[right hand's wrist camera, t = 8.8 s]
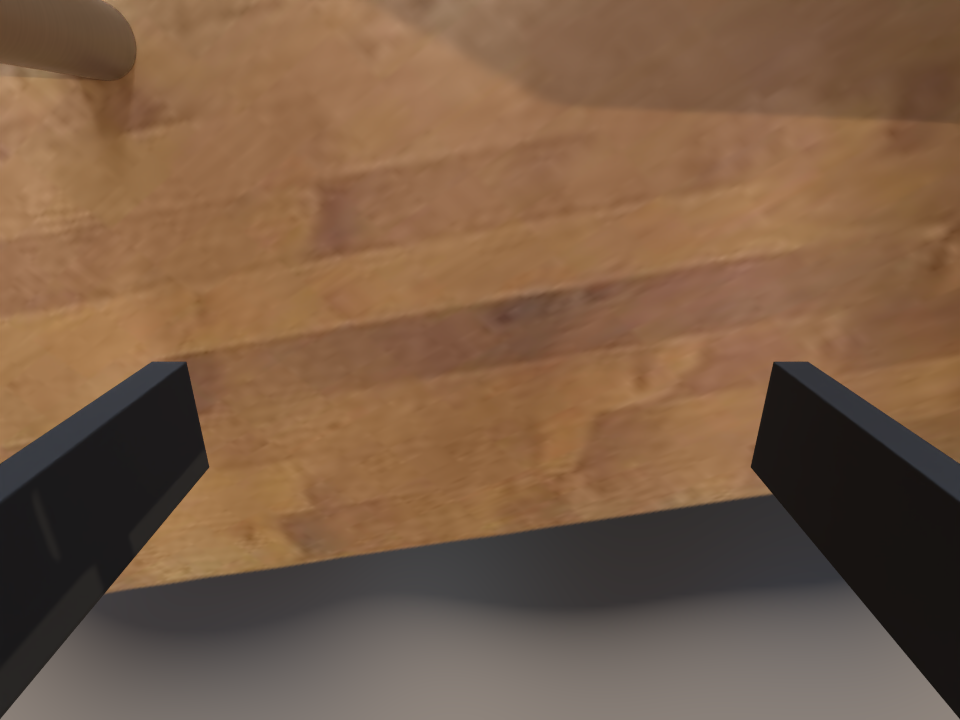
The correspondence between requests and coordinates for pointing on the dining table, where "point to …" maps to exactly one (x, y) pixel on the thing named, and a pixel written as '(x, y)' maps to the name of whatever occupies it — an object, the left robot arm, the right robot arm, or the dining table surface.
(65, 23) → the bottle
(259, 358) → the dining table surface
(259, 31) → the dining table surface
